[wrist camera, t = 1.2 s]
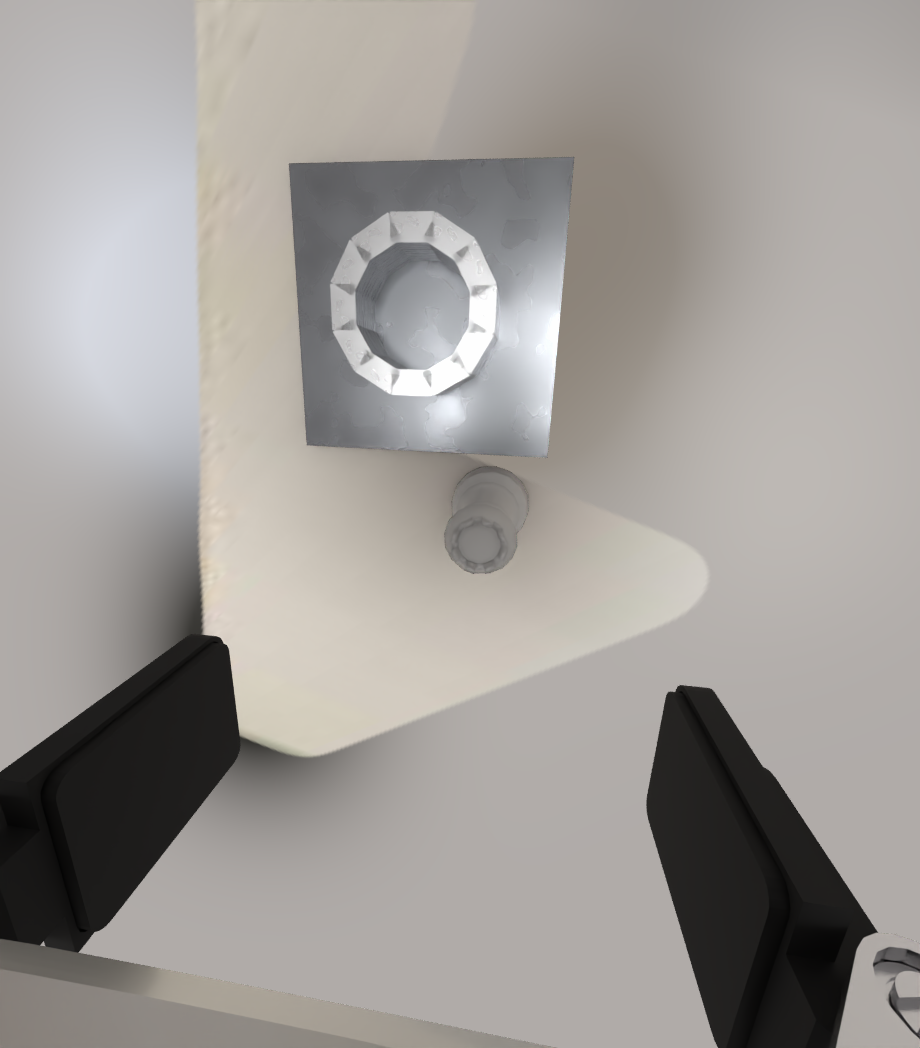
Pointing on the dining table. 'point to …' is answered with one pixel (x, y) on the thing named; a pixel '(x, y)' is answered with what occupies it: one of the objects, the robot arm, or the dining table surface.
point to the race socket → (430, 301)
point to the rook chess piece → (486, 519)
